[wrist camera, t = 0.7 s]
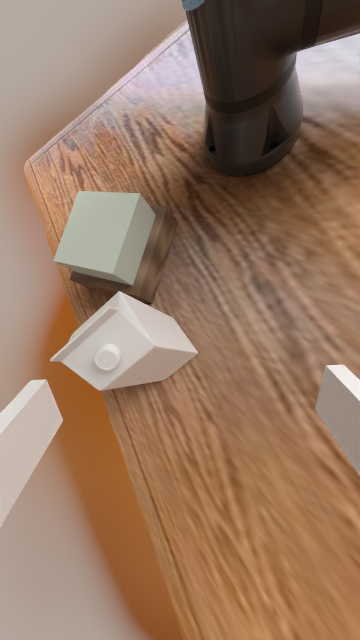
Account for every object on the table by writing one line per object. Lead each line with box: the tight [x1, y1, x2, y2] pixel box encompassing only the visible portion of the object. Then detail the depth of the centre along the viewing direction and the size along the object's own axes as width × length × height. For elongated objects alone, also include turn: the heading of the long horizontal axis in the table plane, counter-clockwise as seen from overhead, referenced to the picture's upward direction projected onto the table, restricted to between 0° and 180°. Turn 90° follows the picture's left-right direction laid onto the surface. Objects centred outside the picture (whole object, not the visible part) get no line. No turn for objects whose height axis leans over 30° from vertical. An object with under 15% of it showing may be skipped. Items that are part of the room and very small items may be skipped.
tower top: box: [54, 191, 156, 286], centre depth 35 cm, size 12×12×5 cm
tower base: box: [70, 206, 178, 303], centre depth 40 cm, size 15×15×5 cm
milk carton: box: [50, 291, 198, 391], centre depth 27 cm, size 7×7×19 cm
